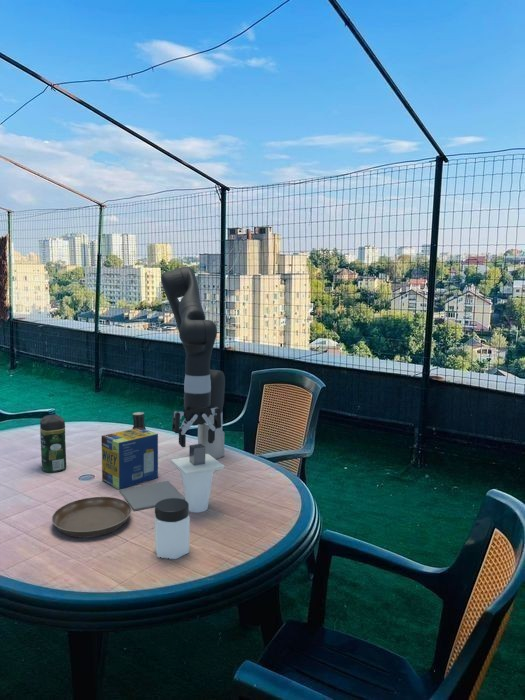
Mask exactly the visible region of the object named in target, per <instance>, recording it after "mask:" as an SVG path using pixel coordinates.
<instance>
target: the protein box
mask: <svg viewBox="0 0 525 700" xmlns="http://www.w3.org/2000/svg"><path fill="white" fill-rule="evenodd" d="M101 476H102V478H101V479H102V482H104V483H106V484H108V485H109V486H111V487H114V488H115V489H117V490H119V489H125V488H130V487H133V486H135V485H139V484H142V483H145V482H148V480H149V481H151V479H152V480H155V479H158V477H159V433H156V432H154V431H151V430H149V429H147V428H146V429H144V428H141V427H138V428H134V429H132V428H130V429H126V430H121V431H117V432H113V433H108V434H103V435H101ZM154 478H155V479H154Z"/></svg>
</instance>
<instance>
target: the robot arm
mask: <svg viewBox="0 0 525 700" xmlns="http://www.w3.org/2000/svg"><path fill="white" fill-rule="evenodd" d="M160 277H161V278H160V279H161V285H162V288H163V291H164V294H165V296H166V298H167V301H168V303H169V304H168V305H170V308H171V312H172V315H173V316H174V320H175V323H176V326H177V331H178V333H179V339H180V341H181V343H182V346H183V348H184V352H185V361H184V362H185V363H184V364H185V365H184V366H185V367H184V368H185V369H184V375H185V376H184V384H183V386H184V387H183V389H184V392H183V407H184V408H183V409H182V410H183V411H177V410H174V411H172V423H171V424H172V425H171V430H172V432H174V433H175V434H178V444H179V446H180V447H181V448H186V444H187V443H186V441H187V440H186V432H187V431H188V430H189V429H190V428H191V426H197V444H202V445H203V446H205V454H209V455H210V456H212V457H213V458H214V459H216V460H218V459H220V458H222V457H225V431H223V409H224V408H223V407H224V404H225V389H226V377H225V374H224V371H222V370H216V369H211V358H212V353H213V349H214V345H215V342H216V340H217V335H218V328H217V324H216V323H215V322H214V321H213V320H210V319H206V315H205V312H204V308H203V306H202V304H201V296H200V289H199V285H198V279H197V276H196V274H195V272H194V270H193V268H191V266H187V265H186V266H181V267H177V268H173V269H171V270H167V271H165V272H163V273H162V274H161V275H160ZM179 298H181V300H179ZM183 417H184V419H183V421H182V422H181V420H182V418H183ZM180 423H181V425H180Z"/></svg>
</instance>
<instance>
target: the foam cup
mask: <svg viewBox="0 0 525 700" xmlns="http://www.w3.org/2000/svg"><path fill="white" fill-rule="evenodd" d="M214 473H215V471H209V472H204V473H198V474H192V475H186V476H185V475H184V474H183V473H182V472H181V471H180V475H181V478H182V487H183V496H184V497H185V501H187V502H188V504H189V513H202V512H205V511H207V510H208V508H209V503H210V495H211V489H212V483H213V482H212V481H213V475H214Z"/></svg>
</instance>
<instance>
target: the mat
mask: <svg viewBox="0 0 525 700" xmlns="http://www.w3.org/2000/svg"><path fill="white" fill-rule="evenodd" d="M118 490H119V492H120V494H121V495H122V496H123V498H124V499H125V501H126V502H127V503H128V504H129V505H130V506H131V509H132V510H133V512H137V511H142V510H146V509H151V508H155V505H156V503H158V502H159V501H161V500H164V499H168V498H179V499H183V500H185V496H184V494H182V493H181V492H180V491H179V490H178V489H177V488H176V487H175V486H174V485H173V484H172V483H171V481H169V480H165V481H160V482H153V483H149V484H144V485H143V484H142V485H137V486H130V487H126V488H122V489H118Z"/></svg>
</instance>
